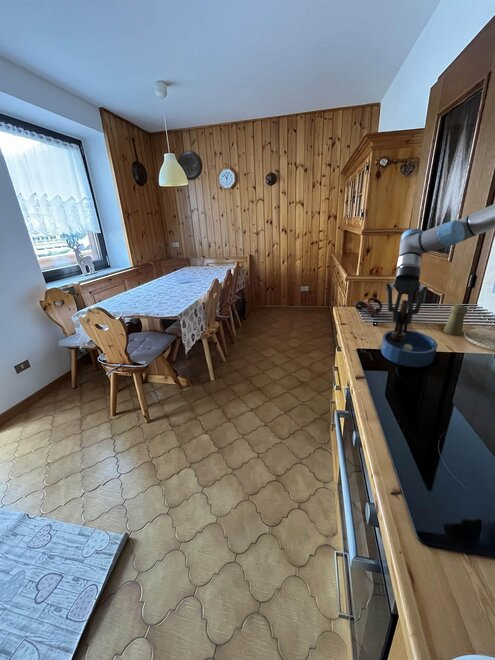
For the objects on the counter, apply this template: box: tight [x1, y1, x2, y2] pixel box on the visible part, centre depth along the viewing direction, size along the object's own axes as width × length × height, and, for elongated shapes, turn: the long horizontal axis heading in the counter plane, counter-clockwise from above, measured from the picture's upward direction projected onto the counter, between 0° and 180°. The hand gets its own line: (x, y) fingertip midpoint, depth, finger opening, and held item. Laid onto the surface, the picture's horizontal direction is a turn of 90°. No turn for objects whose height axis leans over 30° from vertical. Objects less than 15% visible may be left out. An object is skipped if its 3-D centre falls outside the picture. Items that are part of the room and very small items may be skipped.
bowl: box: [380, 329, 439, 368], centre depth 99 cm, size 17×17×6 cm
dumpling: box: [403, 344, 412, 351], centre depth 99 cm, size 3×3×3 cm
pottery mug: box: [354, 297, 383, 317], centre depth 132 cm, size 12×10×8 cm
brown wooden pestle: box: [391, 299, 409, 343], centre depth 98 cm, size 4×4×15 cm
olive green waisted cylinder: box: [443, 304, 468, 336], centre depth 110 cm, size 6×6×11 cm
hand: (400, 331), depth 96 cm, fingers closed on brown wooden pestle, 2 cm apart
